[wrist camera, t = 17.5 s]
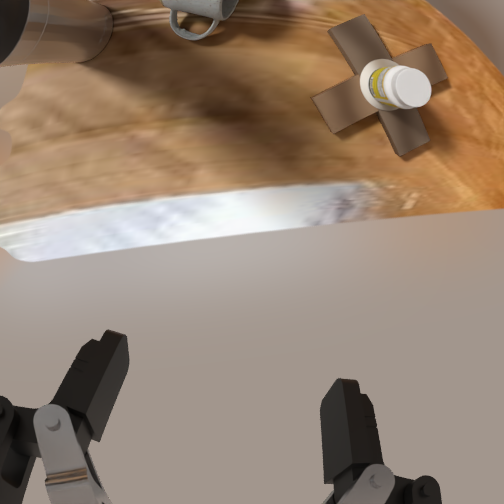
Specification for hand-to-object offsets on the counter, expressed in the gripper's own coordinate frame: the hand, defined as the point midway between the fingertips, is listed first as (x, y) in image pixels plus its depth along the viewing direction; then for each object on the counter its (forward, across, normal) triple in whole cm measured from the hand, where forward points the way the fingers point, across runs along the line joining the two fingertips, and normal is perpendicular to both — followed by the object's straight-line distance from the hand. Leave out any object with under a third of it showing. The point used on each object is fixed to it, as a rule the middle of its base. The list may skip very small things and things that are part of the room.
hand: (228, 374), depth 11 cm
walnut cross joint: (+32, -12, -14) cm, 37 cm away
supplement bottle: (+30, -12, -14) cm, 35 cm away
